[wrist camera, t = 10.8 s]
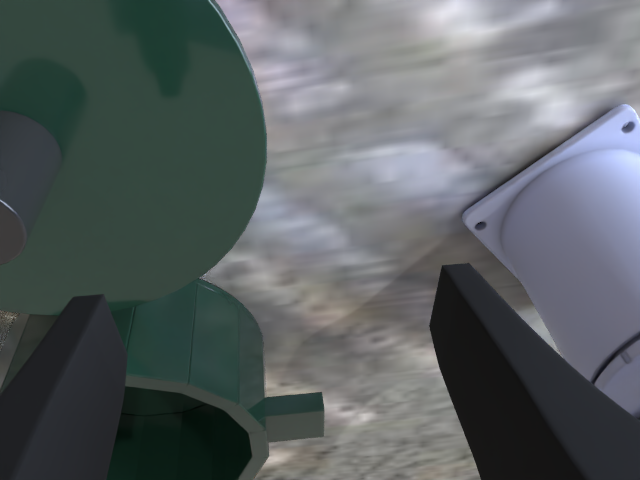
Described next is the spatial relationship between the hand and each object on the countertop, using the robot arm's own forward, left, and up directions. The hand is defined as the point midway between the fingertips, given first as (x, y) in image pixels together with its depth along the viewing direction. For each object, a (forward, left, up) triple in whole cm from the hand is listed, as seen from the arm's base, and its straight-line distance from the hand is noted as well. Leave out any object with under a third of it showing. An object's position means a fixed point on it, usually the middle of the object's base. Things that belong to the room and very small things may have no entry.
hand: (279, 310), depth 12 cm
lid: (+5, +5, -7) cm, 10 cm away
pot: (-6, +15, -10) cm, 19 cm away
